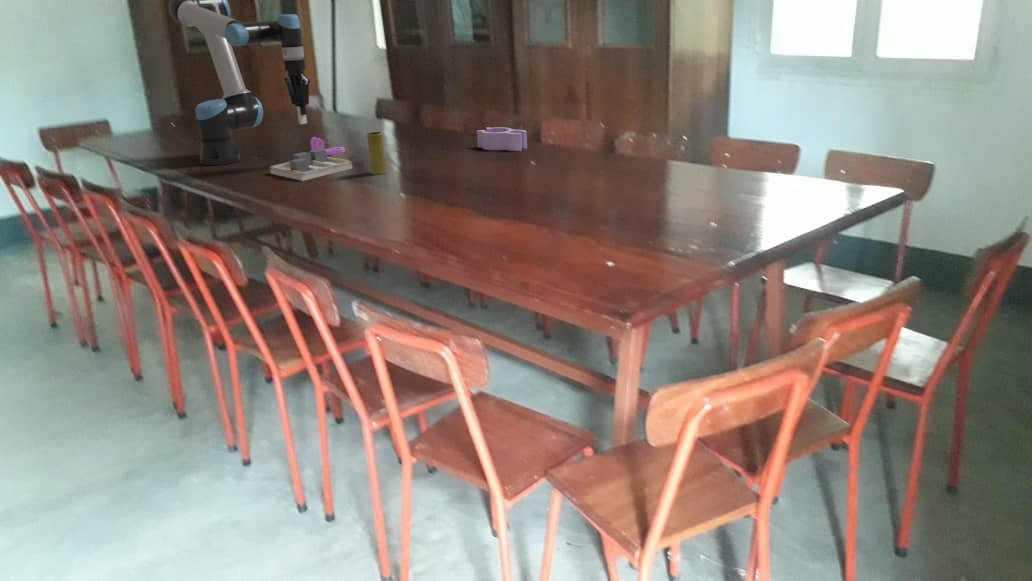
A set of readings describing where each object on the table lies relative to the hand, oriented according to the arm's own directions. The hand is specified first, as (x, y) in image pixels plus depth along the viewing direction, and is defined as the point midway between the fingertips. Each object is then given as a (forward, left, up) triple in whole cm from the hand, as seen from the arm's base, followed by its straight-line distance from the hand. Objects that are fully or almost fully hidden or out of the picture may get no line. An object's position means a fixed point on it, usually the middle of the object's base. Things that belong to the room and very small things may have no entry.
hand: (303, 123), depth 302 cm
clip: (+46, +61, -16) cm, 78 cm away
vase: (+36, +5, -16) cm, 39 cm away
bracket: (-9, +17, -16) cm, 25 cm away
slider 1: (+7, -7, -14) cm, 17 cm away
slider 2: (+15, -14, -13) cm, 25 cm away
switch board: (+12, -7, -15) cm, 21 cm away
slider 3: (+7, 0, -14) cm, 15 cm away
